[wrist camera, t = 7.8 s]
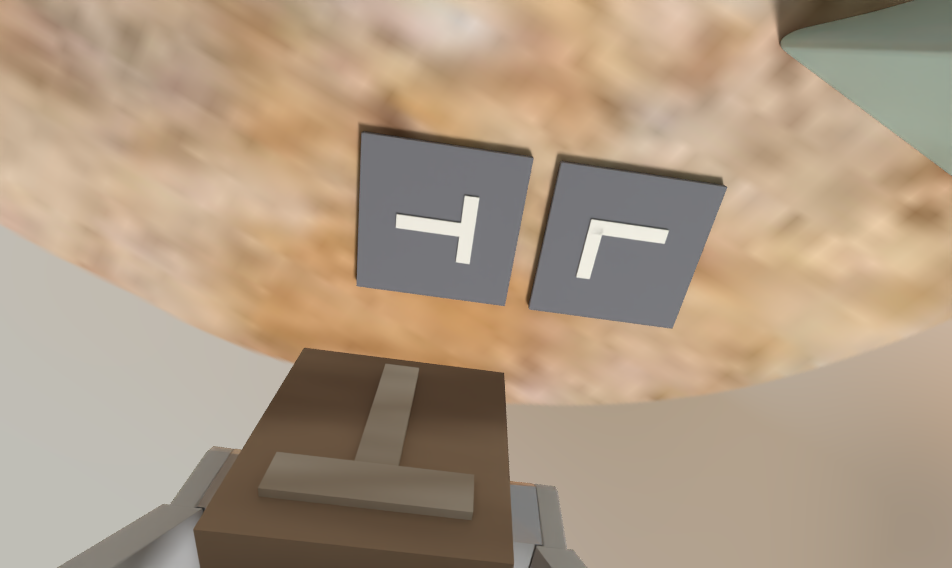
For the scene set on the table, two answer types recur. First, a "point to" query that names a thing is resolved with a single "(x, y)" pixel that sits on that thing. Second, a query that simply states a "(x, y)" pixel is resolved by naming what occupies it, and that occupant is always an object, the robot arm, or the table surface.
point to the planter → (890, 69)
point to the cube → (368, 471)
